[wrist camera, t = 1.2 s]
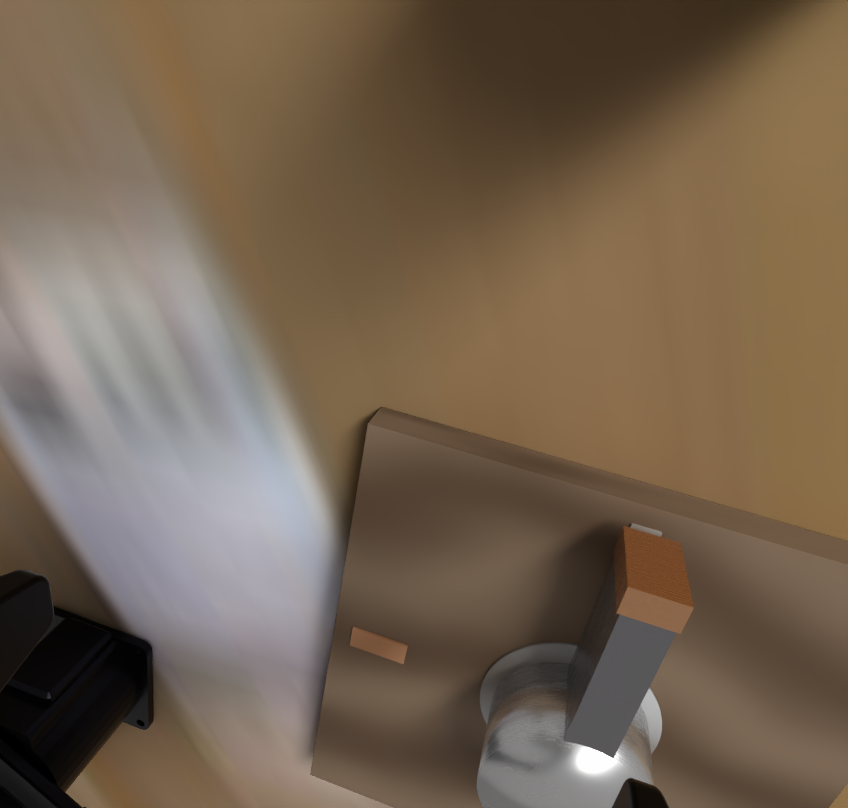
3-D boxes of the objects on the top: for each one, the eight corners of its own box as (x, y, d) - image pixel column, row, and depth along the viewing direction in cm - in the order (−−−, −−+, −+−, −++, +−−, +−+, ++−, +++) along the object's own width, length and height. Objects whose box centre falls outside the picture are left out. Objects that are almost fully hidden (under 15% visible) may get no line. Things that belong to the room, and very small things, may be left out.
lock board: (719, 900, 28) (726, 942, 27) (322, 747, 31) (308, 778, 30) (962, 574, 20) (992, 611, 18) (381, 406, 23) (366, 425, 21)
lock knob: (619, 795, 25) (622, 884, 22) (476, 743, 26) (460, 821, 23) (746, 557, 19) (773, 632, 16) (559, 501, 20) (553, 563, 17)
